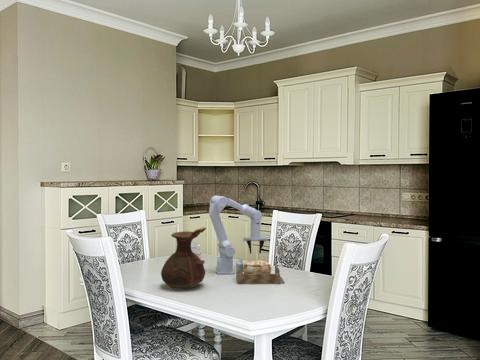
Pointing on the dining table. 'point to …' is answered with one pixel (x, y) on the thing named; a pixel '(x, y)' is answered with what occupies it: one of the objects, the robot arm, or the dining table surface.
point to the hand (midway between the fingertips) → (255, 253)
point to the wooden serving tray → (254, 276)
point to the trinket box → (257, 267)
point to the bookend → (278, 273)
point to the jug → (183, 263)
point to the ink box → (196, 248)
